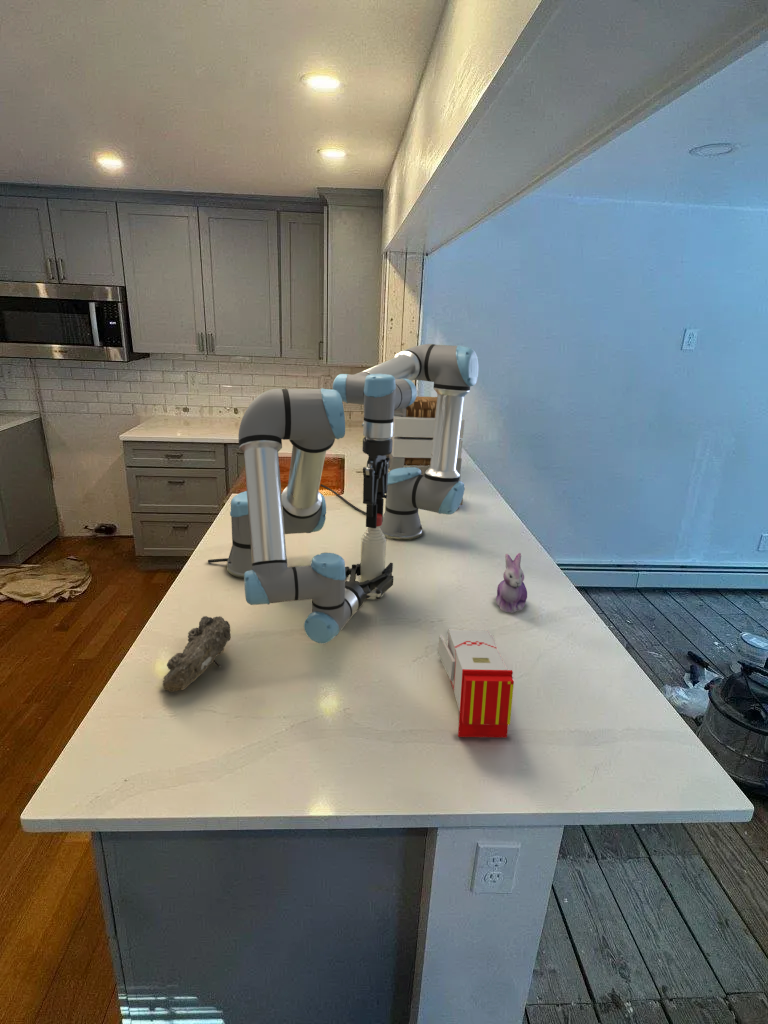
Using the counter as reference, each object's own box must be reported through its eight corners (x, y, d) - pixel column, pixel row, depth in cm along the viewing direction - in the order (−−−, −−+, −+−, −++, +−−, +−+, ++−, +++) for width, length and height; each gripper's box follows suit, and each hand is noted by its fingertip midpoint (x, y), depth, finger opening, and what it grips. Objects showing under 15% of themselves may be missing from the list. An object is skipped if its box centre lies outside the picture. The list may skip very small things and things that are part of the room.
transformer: (382, 463, 289) (386, 382, 275) (445, 464, 293) (451, 384, 279) (390, 482, 257) (394, 392, 243) (460, 483, 261) (468, 394, 247)
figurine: (509, 617, 148) (516, 565, 143) (485, 599, 156) (491, 550, 151) (537, 610, 152) (544, 559, 147) (512, 593, 161) (519, 544, 156)
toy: (488, 613, 130) (523, 677, 101) (484, 667, 133) (517, 744, 104) (435, 612, 130) (455, 676, 101) (432, 666, 133) (451, 743, 103)
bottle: (369, 585, 162) (371, 511, 154) (388, 592, 158) (392, 517, 151) (354, 594, 157) (356, 517, 149) (374, 601, 153) (377, 523, 145)
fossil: (186, 619, 132) (231, 589, 127) (214, 646, 135) (260, 618, 130) (141, 685, 113) (192, 653, 108) (176, 716, 116) (227, 686, 111)
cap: (375, 527, 148) (375, 519, 147) (363, 523, 150) (363, 515, 149) (385, 524, 151) (385, 515, 150) (373, 520, 153) (373, 511, 152)
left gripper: (309, 605, 144) (346, 570, 164) (382, 622, 137) (411, 583, 158) (309, 579, 141) (347, 546, 161) (383, 595, 135) (413, 558, 155)
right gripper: (375, 429, 151) (372, 512, 159) (350, 442, 136) (348, 532, 144) (402, 433, 149) (398, 516, 157) (379, 446, 134) (376, 537, 142)
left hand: (379, 564), depth 160 cm, fingers closed on bottle, 7 cm apart
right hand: (374, 524), depth 150 cm, fingers closed on cap, 4 cm apart
